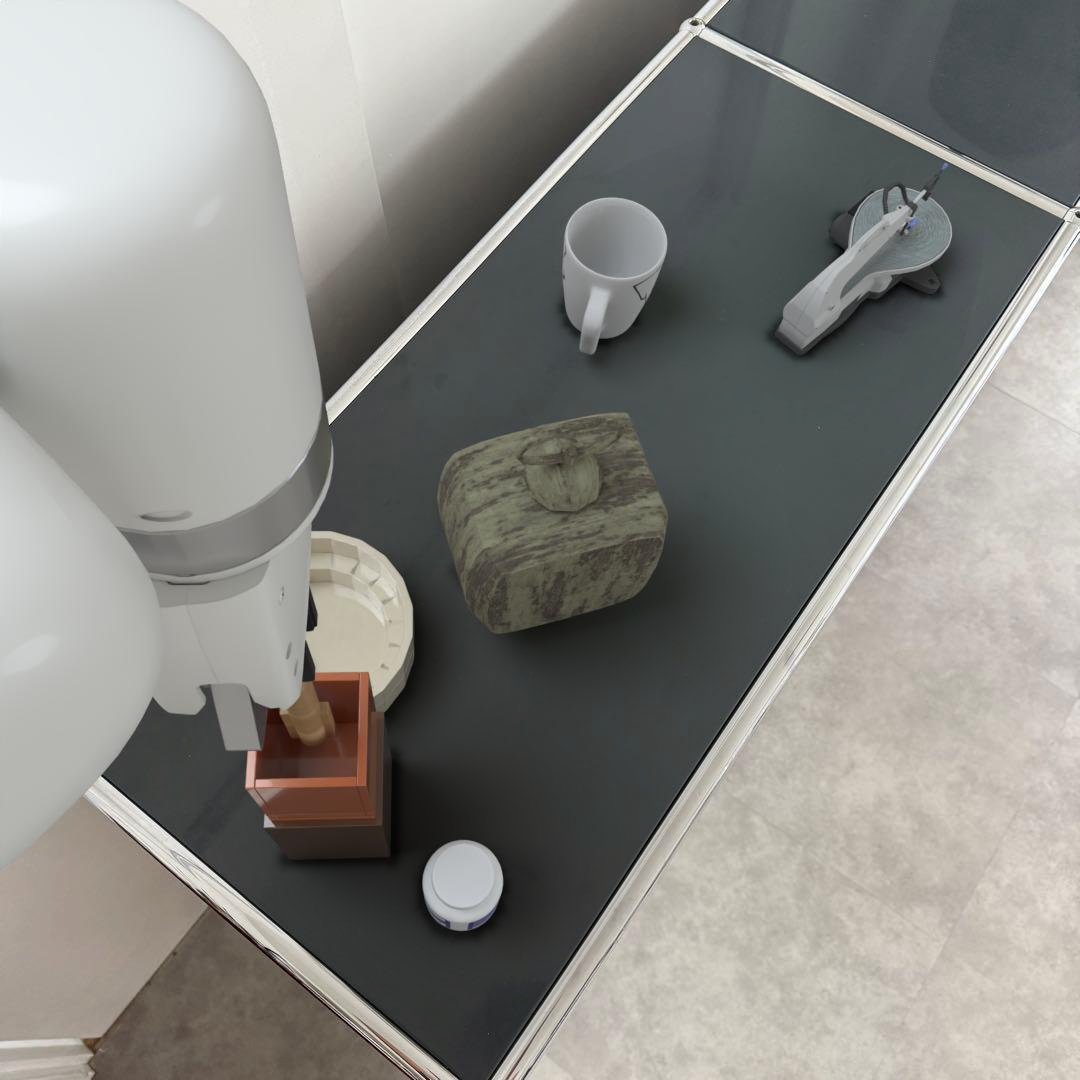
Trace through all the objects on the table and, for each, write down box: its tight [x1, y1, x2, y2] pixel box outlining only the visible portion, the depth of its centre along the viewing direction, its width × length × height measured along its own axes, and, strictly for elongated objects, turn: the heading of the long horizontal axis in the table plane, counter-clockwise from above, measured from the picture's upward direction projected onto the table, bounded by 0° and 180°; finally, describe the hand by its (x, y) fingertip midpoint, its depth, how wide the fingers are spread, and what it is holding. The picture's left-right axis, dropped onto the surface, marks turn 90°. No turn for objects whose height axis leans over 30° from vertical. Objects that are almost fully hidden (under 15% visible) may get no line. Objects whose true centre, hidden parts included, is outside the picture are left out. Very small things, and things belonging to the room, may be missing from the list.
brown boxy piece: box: [244, 672, 393, 861], centre depth 69 cm, size 7×7×23 cm
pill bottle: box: [421, 839, 504, 932], centre depth 73 cm, size 5×5×9 cm
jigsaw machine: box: [774, 162, 953, 356], centre depth 97 cm, size 20×11×12 cm
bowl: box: [305, 530, 415, 713], centre depth 81 cm, size 14×14×6 cm
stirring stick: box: [280, 681, 336, 747], centre depth 51 cm, size 2×2×20 cm
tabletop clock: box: [436, 412, 669, 635], centre depth 76 cm, size 14×9×25 cm, turn 107°
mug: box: [561, 197, 668, 355], centre depth 93 cm, size 11×8×10 cm
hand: (278, 648), depth 47 cm, fingers closed on stirring stick, 1 cm apart
